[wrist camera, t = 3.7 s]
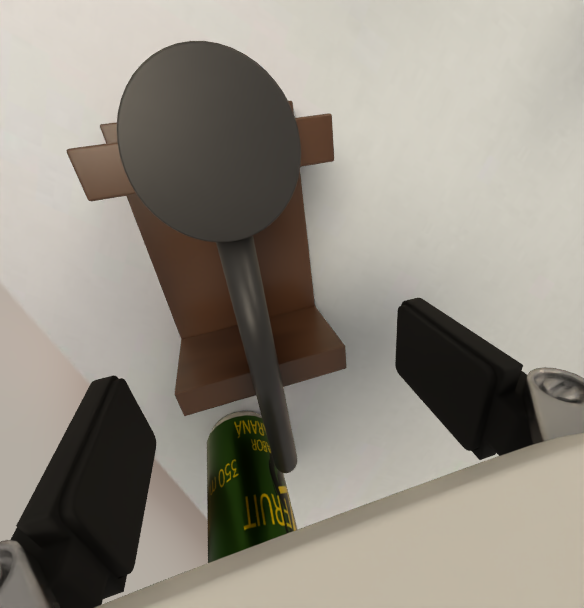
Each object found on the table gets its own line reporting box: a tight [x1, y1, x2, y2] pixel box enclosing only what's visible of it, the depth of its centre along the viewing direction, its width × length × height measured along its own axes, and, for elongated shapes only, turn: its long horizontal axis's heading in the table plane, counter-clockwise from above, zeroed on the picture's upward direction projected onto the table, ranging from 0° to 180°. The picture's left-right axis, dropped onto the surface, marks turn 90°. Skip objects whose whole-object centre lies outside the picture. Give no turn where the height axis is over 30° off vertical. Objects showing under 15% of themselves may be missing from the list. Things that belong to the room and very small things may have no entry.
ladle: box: [117, 41, 301, 473], centre depth 13 cm, size 5×20×2 cm, turn 8°
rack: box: [67, 101, 346, 416], centre depth 16 cm, size 9×17×6 cm, turn 8°
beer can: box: [207, 411, 297, 563], centre depth 20 cm, size 5×5×12 cm
